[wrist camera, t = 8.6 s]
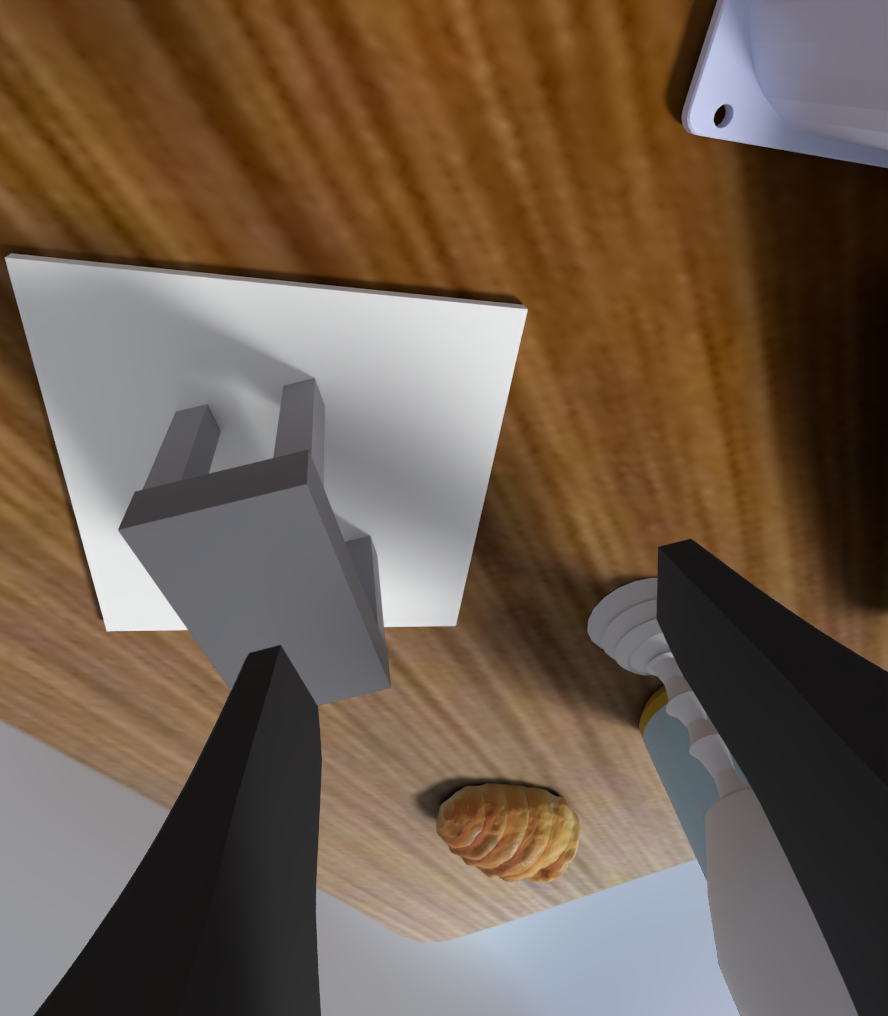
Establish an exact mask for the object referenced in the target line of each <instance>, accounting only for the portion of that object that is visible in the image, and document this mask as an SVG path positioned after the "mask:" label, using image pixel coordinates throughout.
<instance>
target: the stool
mask: <svg viewBox="0 0 888 1016" xmlns="http://www.w3.org/2000/svg"><path fill="white" fill-rule="evenodd" d="M220 433H221V431H220V429H219V427H218V425H217V423H216V421H215V419H214V417H213V415H212V413H211V411H210V409H209V407H208V404H206V405H201V406H197V407H193V408H189V409H185V410H181V411H177V412H175V414H174V417H173V419H172V421H171V424H170V426H169V428H168V431H167V433H166V435H165V438H164V440H163V443H162V445H161V447H160V450H159V452H158V454H157V457H156V459H155V461H154V464H153V466H152V468H151V471H150V473H149V475H148V478H147V480H146V482H145V485H144V487H143V489H142V490H140V491H135V492H134V495H133V497H132V499H131V501H130V504H129V506H128V508H127V510H126V513H125V515H124V517H123V519H122V522H121V524H120V526H119V528H118V531H119V533H120V534H121V535H122V537H123V538H124V540H125V541H126V542H127V544H128V545H129V547H130V548H131V550H132V551H133V552H134V554H135V555H136V557H137V558H138V560H139V561H140V562H141V564H142V565H143V567H144V568H145V569H146V571H147V572H148V574H149V575H150V577H151V578H152V579H153V581H154V582H155V584H156V585H157V587H158V588H159V589H160V591H161V592H162V594H163V595H164V596H165V598H166V599H167V601H168V602H169V604H170V605H171V606H172V608H173V609H174V611H175V612H176V614H177V615H178V616H179V618H180V619H181V621H182V622H183V623H184V625H185V626H186V628H187V629H188V631H189V632H190V633H191V635H192V636H193V638H194V639H195V641H196V642H197V643H198V645H199V646H200V648H201V649H202V650H203V652H204V653H205V655H206V656H207V658H208V659H209V660H210V662H211V663H212V665H213V666H214V668H215V669H216V670H217V672H218V673H219V675H220V676H221V677H222V679H223V680H224V682H225V683H226V685H227V686H228V687H229V689H230V690H232V688H233V685H234V683H235V681H236V679H237V676H238V674H239V672H240V670H241V668H242V665H243V663H244V661H245V659H246V657H247V656H248V654H249V653H251V652H254V651H258V650H262V649H266V648H270V647H274V646H278V645H281V646H282V648H283V649H284V651H285V652H286V654H287V656H288V657H289V659H290V661H291V662H292V664H293V666H294V667H295V669H296V671H297V672H298V674H299V676H300V677H301V679H302V681H303V682H304V684H305V686H306V687H307V689H308V691H309V692H310V694H311V696H312V697H313V699H314V701H315V702H316V704H317V706H319V705H323V704H327V703H331V702H335V701H339V700H343V699H347V698H351V697H356V696H360V695H364V694H368V693H372V692H376V691H380V690H384V689H388V688H391V683H390V673H389V662H388V652H387V648H386V642H385V632H384V621H383V610H382V599H381V589H380V578H379V567H378V556H377V552H376V550H375V547H374V544H373V541H372V538H371V536H367V537H363V538H359V539H355V540H351V541H347V542H345V541H344V538H343V536H342V533H341V531H340V528H339V525H338V523H337V520H336V518H335V515H334V513H333V510H332V508H331V505H330V503H329V500H328V497H327V495H326V492H325V490H324V433H325V405H324V402H323V399H322V397H321V394H320V391H319V388H318V385H317V382H316V380H315V378H313V379H309V380H305V381H301V382H296V383H292V384H288V385H284V386H283V391H282V398H281V406H280V413H279V420H278V427H277V434H276V441H275V448H274V456H273V458H271V459H267V460H263V461H259V462H255V463H251V464H247V465H243V466H238V467H234V468H230V469H226V470H222V471H218V472H214V473H210V474H209V471H210V467H211V464H212V460H213V457H214V453H215V450H216V446H217V443H218V440H219V436H220Z"/></svg>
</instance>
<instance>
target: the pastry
mask: <svg viewBox="0 0 888 1016" xmlns="http://www.w3.org/2000/svg"><path fill="white" fill-rule="evenodd" d="M580 828H581V825H580V821H579V818H578V816H577V815H576V813H575V812H574V810H573V809H572V808H571V807H570V806H569V805H568V804H567V803H566V802H565V801H564V800H563V799H562V797H561V796H560V795H559V797H557V796H554V795H552V794H551V793H549V791H547V790H544V789H539V788H535V787H531V788H528V787H525V786H520V785H507V784H498V783H485V784H484V785H480V786H465V787H464V788H462V789H461V790H459V791H457V792H455V794H454V795H453V796H452V797H451V798H449V799H448V800H446V801H445V802H444V803H442V805H441V806H440V809H439V814H438V818H437V824H436V830H437V833H438V835H439V836H440V837H441V838H442V839H443V840H444V841H445V842H446V843H447V845H448V846H449V849H450V851H451V852H452V853H453V854H456V855H459V856H461V857H462V859H463V860H464V862H465V863H466V864H467V865H469V866H476V867H477V868H478V869H480V870H481V871H482V872H483V873H484V874H485V875H487V876H488V877H490V878H493V877H496V876H499V877H500V878H501V879H503V880H505V881H507V882H514V881H519V880H520V879H522V878H525V877H526V878H528V879H530V880H531V881H532V882H550V881H552V880H553V879H556V878H559V877H560V876H561V875H562V874H563V873H564V872H565V870H566V869H567V867H568V864H569V862H570V861H571V860H573V859H574V858H575V855H576V852H577V848H578V842H579V837H580Z"/></svg>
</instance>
